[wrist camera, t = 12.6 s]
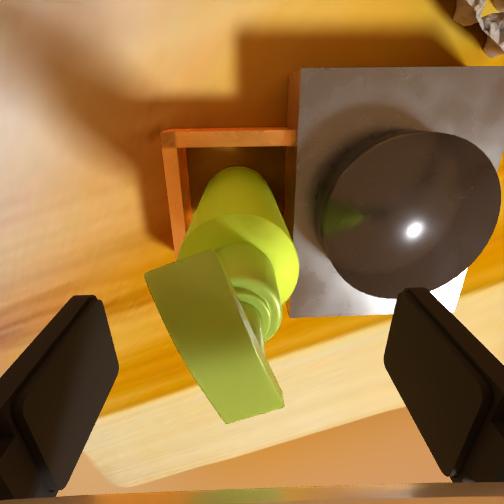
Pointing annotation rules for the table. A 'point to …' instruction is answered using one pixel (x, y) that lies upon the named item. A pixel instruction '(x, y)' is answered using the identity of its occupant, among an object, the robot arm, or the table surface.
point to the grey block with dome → (374, 181)
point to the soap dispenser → (230, 292)
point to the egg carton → (483, 23)
